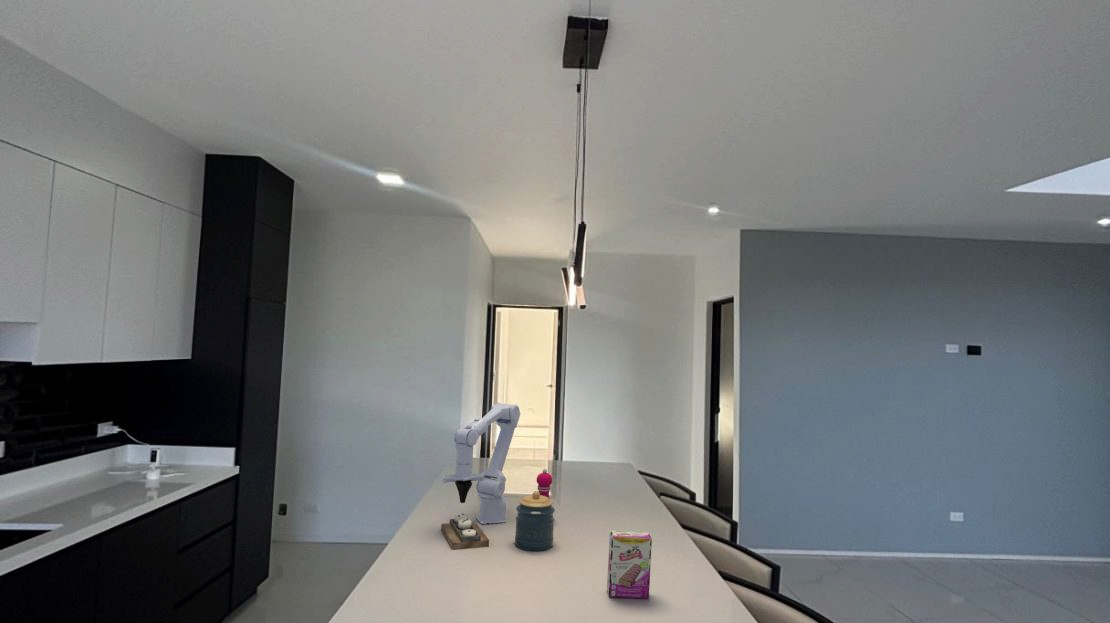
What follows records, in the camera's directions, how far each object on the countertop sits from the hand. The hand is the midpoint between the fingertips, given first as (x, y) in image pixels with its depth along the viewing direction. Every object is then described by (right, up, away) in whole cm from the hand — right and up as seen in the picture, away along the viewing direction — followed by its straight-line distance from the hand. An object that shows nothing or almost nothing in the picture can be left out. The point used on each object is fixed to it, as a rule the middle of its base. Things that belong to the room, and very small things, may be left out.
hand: (462, 502), depth 201 cm
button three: (+2, -7, -6) cm, 9 cm away
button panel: (+2, -10, -6) cm, 12 cm away
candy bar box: (+52, -11, -45) cm, 70 cm away
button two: (-1, -7, 0) cm, 7 cm away
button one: (+4, -8, -12) cm, 15 cm away
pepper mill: (+28, -13, +14) cm, 34 cm away
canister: (+25, -11, -9) cm, 29 cm away
